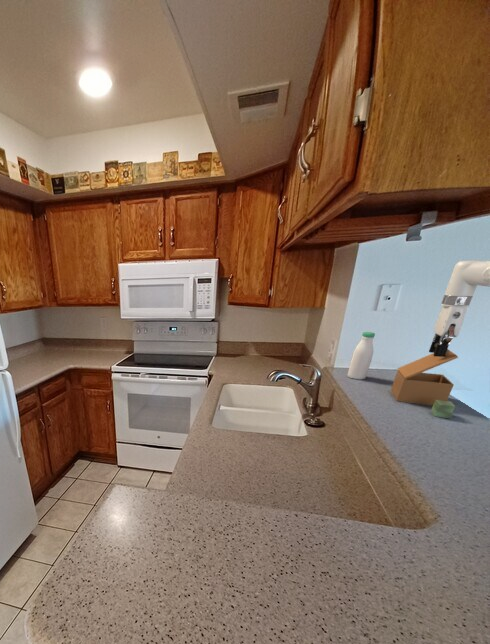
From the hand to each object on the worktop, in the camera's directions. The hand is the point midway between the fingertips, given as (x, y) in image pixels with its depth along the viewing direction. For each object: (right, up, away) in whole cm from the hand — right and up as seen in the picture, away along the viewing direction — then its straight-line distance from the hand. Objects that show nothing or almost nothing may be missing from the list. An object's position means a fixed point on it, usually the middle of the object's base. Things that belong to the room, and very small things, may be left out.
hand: (436, 353), depth 120 cm
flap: (-2, -3, +3) cm, 5 cm away
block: (-3, -23, -5) cm, 23 cm away
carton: (-1, -15, +9) cm, 18 cm away
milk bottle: (-11, -3, +31) cm, 33 cm away
